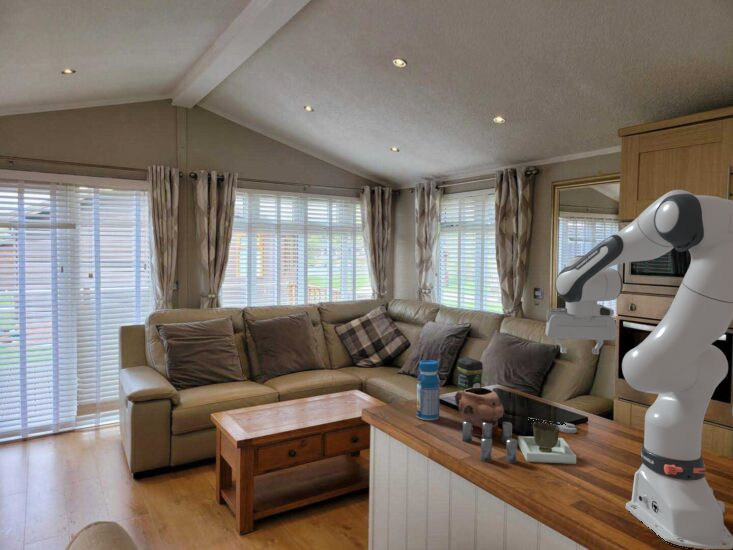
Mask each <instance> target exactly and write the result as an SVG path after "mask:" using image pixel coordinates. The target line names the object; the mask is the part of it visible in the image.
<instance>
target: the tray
mask: <svg viewBox="0 0 733 550" xmlns="http://www.w3.org/2000/svg"><path fill="white" fill-rule="evenodd" d="M517 446H519V449H520V451H521V452H522V455H523V457H524V459H525V461H526V462H530V463H531V462H532V463H546V464H549V463H550V464H566V465H567V464H569V465H577V455H576V453H575V452H574V451H573V449H572V448H571V447H570V446H569V444H568V443H567V442H566V441H565V439H564V438H563V437H558V441H557V444H556V446H555V447H553V448H552V452H551V453H545V452H540V450H539V446H538V445H537V444H536V442H535V439H534V436H525V435H524V436H523V435H517Z"/></svg>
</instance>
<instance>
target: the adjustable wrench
mask: <svg viewBox="0 0 733 550" xmlns="http://www.w3.org/2000/svg"><path fill="white" fill-rule="evenodd" d="M529 418H530V419H534V418H533V417H529ZM535 419H536V420H537V419H538V418H535ZM528 420H529V419H528ZM533 421H534V420H533ZM557 423H558V424H560V422H557ZM564 423H565V424H566V425H565V424H563V425H561V424H560V425H558V428H559V427H560V429H559V432H563V433H566V434H567V433H568V434H577V431H578V430H577V428H576V425H575V424H573V423H568V422H564Z"/></svg>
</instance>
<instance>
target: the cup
mask: <svg viewBox="0 0 733 550" xmlns="http://www.w3.org/2000/svg"><path fill="white" fill-rule="evenodd" d="M544 421H545V420H543V422H542V423H541V424H540V422H538V424H537V423H536V422H534V423H533V424H532V430H533V437H534V439H535V442H536V444H537V445H538V446H539V450H540V452H545V453H551V452H552V448H553V447H555V446H556V444H557V441H558V438H559V436H560V430H559V429H560V427H559V428H558V425H556V424H553V425H552V423H550V425H549V424H548V423H547V422H545V423H544Z"/></svg>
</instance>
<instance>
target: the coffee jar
mask: <svg viewBox="0 0 733 550" xmlns="http://www.w3.org/2000/svg"><path fill="white" fill-rule="evenodd" d="M483 371H484V365H483V362H482V361H481V360H478V359H474V358H471V357H469V356H466V357H460V358H459V359H458V360H457V372H458V373H457V375H458V378H457V379H458V381H457V392H458V391H464V390H465V389H469V388H483V387H482V385H483V384H482V378H483V377H482V376H483ZM461 398H462V396H460V398H459V402H460V400H461Z"/></svg>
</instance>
